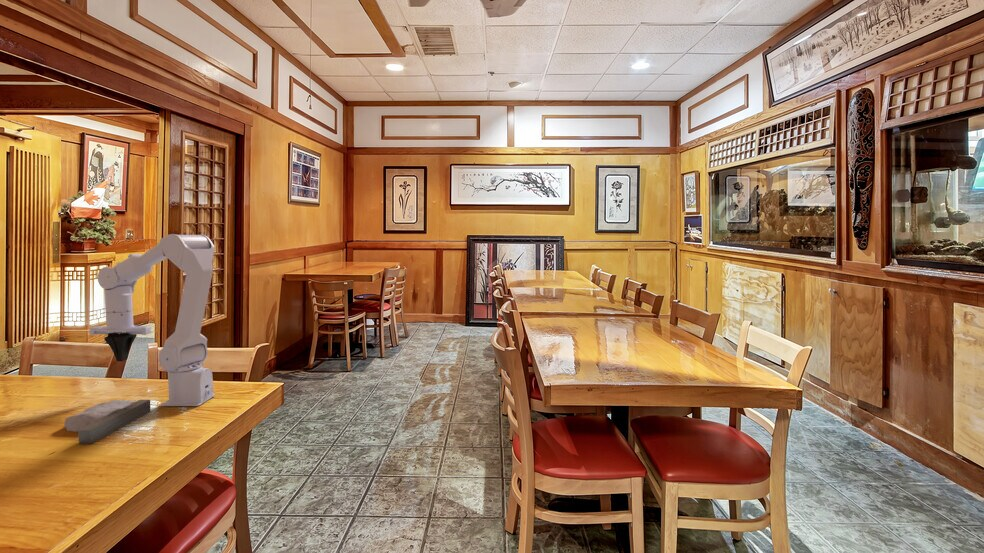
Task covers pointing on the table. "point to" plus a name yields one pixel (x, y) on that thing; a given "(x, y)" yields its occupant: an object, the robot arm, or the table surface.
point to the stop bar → (113, 422)
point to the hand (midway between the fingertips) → (122, 360)
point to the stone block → (94, 414)
